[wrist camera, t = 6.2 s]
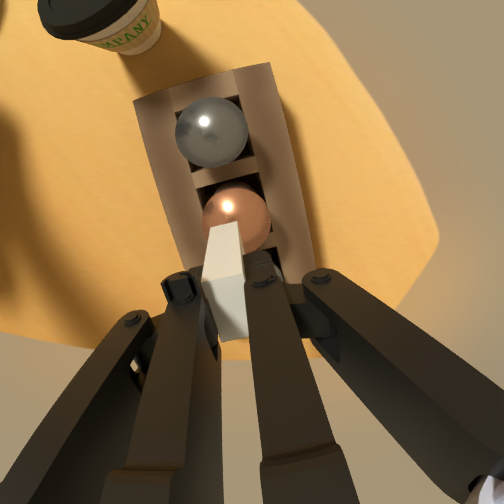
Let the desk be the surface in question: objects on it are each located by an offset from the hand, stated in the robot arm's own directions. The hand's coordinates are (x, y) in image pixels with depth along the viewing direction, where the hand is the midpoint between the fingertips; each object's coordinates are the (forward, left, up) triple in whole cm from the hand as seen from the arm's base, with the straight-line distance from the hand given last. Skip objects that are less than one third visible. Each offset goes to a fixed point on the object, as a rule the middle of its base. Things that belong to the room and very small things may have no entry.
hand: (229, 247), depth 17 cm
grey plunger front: (0, +7, -14) cm, 16 cm away
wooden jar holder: (0, -1, -18) cm, 18 cm away
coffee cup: (-6, +22, -18) cm, 29 cm away
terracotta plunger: (0, -1, -14) cm, 14 cm away
